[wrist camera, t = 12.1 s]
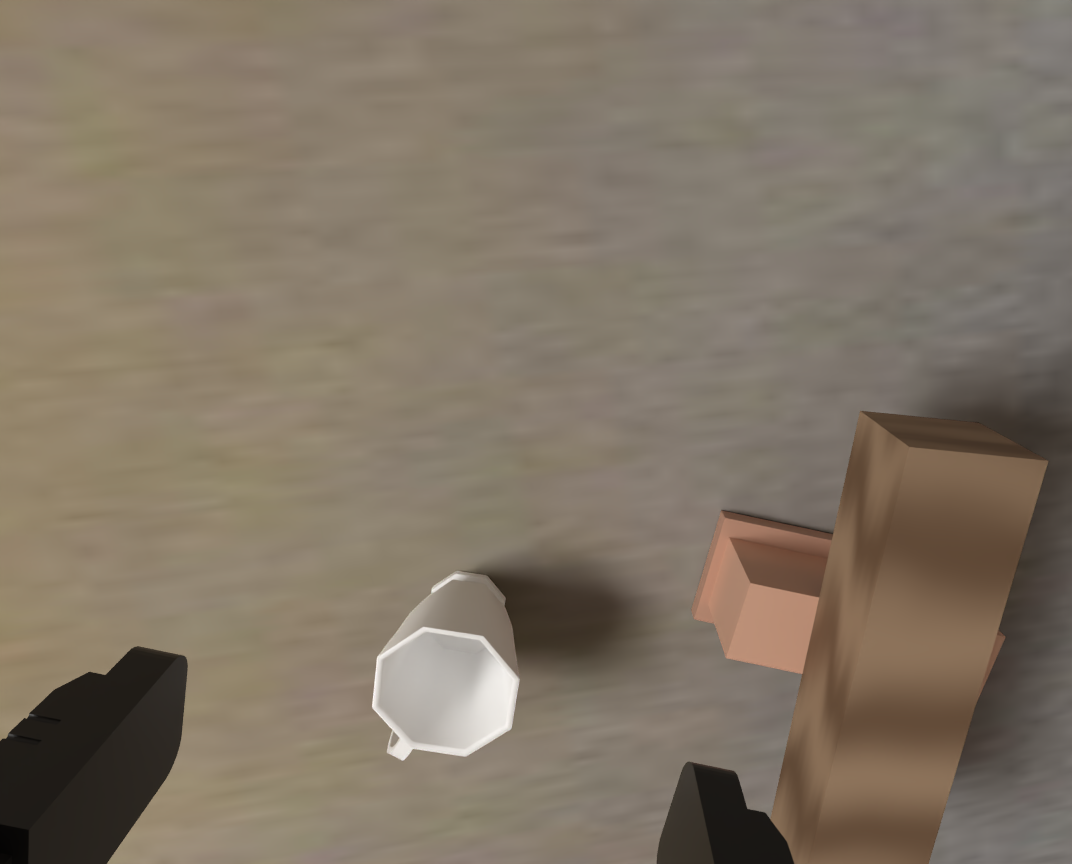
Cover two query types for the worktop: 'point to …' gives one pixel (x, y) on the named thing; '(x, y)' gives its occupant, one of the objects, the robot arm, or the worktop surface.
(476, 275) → the worktop surface
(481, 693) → the cup
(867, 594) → the walnut bar
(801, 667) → the ridge
